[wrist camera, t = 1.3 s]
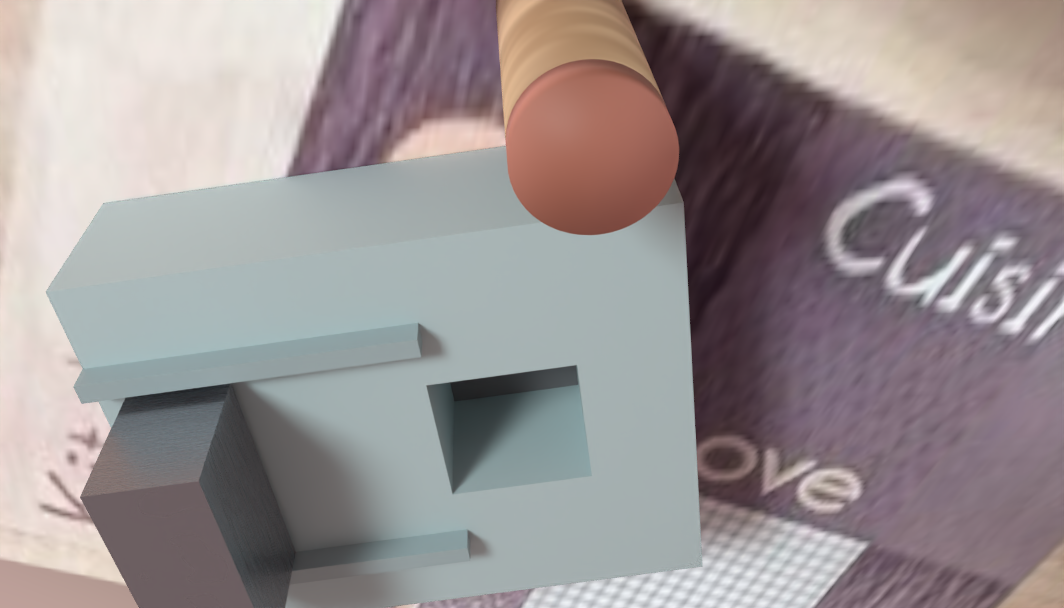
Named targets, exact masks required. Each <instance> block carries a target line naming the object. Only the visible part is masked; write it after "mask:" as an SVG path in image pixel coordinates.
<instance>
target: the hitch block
mask: <svg viewBox="0 0 1064 608" xmlns="http://www.w3.org/2000/svg"><path fill="white" fill-rule="evenodd" d="M46 294H47V296H48V298H49V300H50V302H51V304H52V306H53V308H54V310H55V312H56V314H57V316H58V318H59V321H60V323H61V325H62V327H63V329H64V331H65V333H66V335H67V337H68V339H69V341H70V343H71V345H72V348H73V350H74V352H75V354H76V356H77V358H78V360H79V362H80V364H81V366H82V368H83V370H82V372H81V373H80V375H79V377H78V379H77V381H76V383H75V385H74V389H75V391H76V393H77V395H78V397H79V399H80V401H81V403H82V404H83V403H90V402H98V401H99V404H100V406H101V408H102V410H103V412H104V414H105V416H106V418H107V420H108V422H109V424H110V426H111V428H112V426H113V424H114V422H115V419H116V417H117V415H118V413H119V411H120V408H121V406H122V404H123V402H124V400H125V398H127V397H134V396H142V395H149V394H156V393H163V392H171V391H178V390H185V389H193V388H200V387H207V386H215V385H222V384H229V383H232V386H233V389H234V391H235V394H236V397H237V399H238V402H239V404H240V407H241V410H242V412H243V415H244V418H245V420H246V423H247V425H248V428H249V431H250V433H251V436H252V439H253V441H254V444H255V446H256V449H257V452H258V454H259V457H260V460H261V462H262V465H263V467H264V470H265V473H266V475H267V478H268V481H269V483H270V486H271V488H272V491H273V494H274V496H275V499H276V502H277V504H278V507H279V509H280V512H281V515H282V517H283V520H284V523H285V525H286V528H287V530H288V533H289V536H290V538H291V541H292V544H293V546H294V549H295V551H296V553H295V559H294V564H293V569H292V574H291V580H290V585H289V590H288V595H287V601H286V606H285V608H386V607H394V606H401V605H409V604H417V603H424V602H432V601H440V600H448V599H455V598H463V597H471V596H478V595H486V594H494V593H502V592H509V591H517V590H525V589H532V588H540V587H548V586H556V585H563V584H571V583H579V582H586V581H594V580H602V579H609V578H617V577H625V576H633V575H640V574H648V573H656V572H663V571H671V570H679V569H687V568H694V567H702V549H701V530H700V510H699V491H698V471H697V452H696V433H695V413H694V394H693V374H692V355H691V335H690V316H689V296H688V277H687V258H686V238H685V219H684V202H683V199H682V197H681V194H680V192H679V189H678V186H677V184H676V181H675V178H674V180H673V182H672V184H671V187H670V189H669V190H668V192H667V193H666V195H665V197H664V198H663V199H662V200H661V202H660V203H659V204H658V205H657V206H656V207H655V208H654V209H653V210H652V211H651V212H650V213H649V214H647V215H646V216H645V217H643V218H642V219H641V220H639V221H637V222H636V223H634V224H632V225H630V226H628V227H626V228H623V229H621V230H617V231H614V232H611V233H606V234H600V235H577V234H570V233H566V232H563V231H559V230H557V229H554V228H552V227H549V226H548V225H546V224H544V223H542V222H540V221H539V220H538V219H536V218H535V217H534V216H533V215H531V214H530V213H529V212H528V211H527V210H526V209H525V207H524V206H523V205H522V204H521V202H520V201H519V199H518V198H517V196H516V194H515V192H514V190H513V188H512V185H511V183H510V179H509V174H508V166H507V153H506V146H503V147H496V148H489V149H482V150H475V151H468V152H461V153H454V154H447V155H440V156H433V157H426V158H419V159H411V160H404V161H397V162H390V163H383V164H376V165H369V166H362V167H355V168H348V169H341V170H334V171H327V172H320V173H313V174H306V175H299V176H292V177H285V178H278V179H271V180H264V181H257V182H250V183H243V184H236V185H229V186H222V187H215V188H208V189H201V190H194V191H187V192H180V193H173V194H166V195H159V196H152V197H145V198H138V199H131V200H124V201H117V202H110V203H103V205H102V206H101V208H100V209H99V211H98V212H97V214H96V215H95V217H94V218H93V220H92V222H91V223H90V225H89V226H88V228H87V229H86V231H85V232H84V234H83V235H82V237H81V238H80V240H79V241H78V243H77V245H76V246H75V248H74V249H73V251H72V252H71V254H70V255H69V257H68V258H67V260H66V261H65V263H64V265H63V266H62V268H61V269H60V271H59V272H58V274H57V275H56V277H55V278H54V280H53V281H52V283H51V285H50V286H49V288H48V289H47V291H46Z"/></svg>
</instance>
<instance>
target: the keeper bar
mask: <svg viewBox="0 0 1064 608" xmlns="http://www.w3.org/2000/svg"><path fill="white" fill-rule="evenodd" d="M80 498H81V500H82V502H83V503H84V505H85V507H86V509H87V511H88V513H89V515H90V517H91V518H92V520H93V522H94V524H95V526H96V528H97V530H98V532H99V534H100V535H101V537H102V539H103V541H104V543H105V545H106V547H107V549H108V550H109V552H110V554H111V556H112V558H113V560H114V562H115V564H116V565H117V567H118V569H119V571H120V573H121V575H122V577H123V579H124V580H125V582H126V584H127V586H128V588H129V590H130V592H131V594H132V596H133V597H134V599H135V601H136V603H137V605H138V607H139V608H285V606H286V601H287V595H288V590H289V585H290V580H291V574H292V569H293V564H294V559H295V553H296V551H295V549H294V546H293V544H292V541H291V538H290V536H289V533H288V530H287V528H286V525H285V523H284V520H283V517H282V515H281V512H280V509H279V507H278V504H277V502H276V499H275V496H274V494H273V491H272V488H271V486H270V483H269V481H268V478H267V475H266V473H265V470H264V467H263V465H262V462H261V460H260V457H259V454H258V452H257V449H256V446H255V444H254V441H253V439H252V436H251V433H250V431H249V428H248V425H247V423H246V420H245V418H244V415H243V412H242V410H241V407H240V404H239V402H238V399H237V397H236V394H235V391H234V389H233V386H232V383H229V384H222V385H215V386H207V387H200V388H193V389H185V390H178V391H171V392H163V393H156V394H149V395H142V396H134V397H127V398H125V400H124V402H123V404H122V406H121V408H120V411H119V413H118V415H117V417H116V419H115V422H114V424H113V426H112V428H111V430H110V433H109V435H108V437H107V439H106V441H105V444H104V446H103V448H102V450H101V452H100V455H99V457H98V459H97V461H96V463H95V466H94V468H93V470H92V472H91V474H90V477H89V479H88V481H87V483H86V485H85V488H84V490H83V492H82V494H81V496H80Z"/></svg>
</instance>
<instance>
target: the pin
mask: <svg viewBox="0 0 1064 608" xmlns="http://www.w3.org/2000/svg"><path fill="white" fill-rule="evenodd" d="M496 14H497V28H498V42H499V56H500V70H501V83H502V97H503V111H504V125H505V139H506V153H507V166H508V174H509V179H510V183H511V185H512V188H513V190H514V192H515V194H516V196H517V198H518V199H519V201H520V202H521V204H522V205H523V206H524V207H525V209H526V210H527V211H528V212H529V213H530V214H531V215H533V216H534V217H535V218H536V219H538V220H539V221H540V222H542V223H544V224H546V225H548V226H549V227H552V228H554V229H557V230H559V231H563V232H566V233H570V234H577V235H600V234H606V233H611V232H614V231H617V230H621V229H623V228H626V227H628V226H630V225H632V224H634V223H636V222H637V221H639V220H641V219H642V218H643V217H645V216H646V215H647V214H649V213H650V212H651V211H652V210H653V209H654V208H655V207H656V206H657V205H658V204H659V203H660V202H661V200H662V199H663V198H664V197H665V195H666V193H667V192H668V190H669V189H670V187H671V184H672V182H673V180H674V178H675V174H676V171H677V167H678V161H679V143H678V137H677V133H676V129H675V126H674V124H673V122H672V119H671V117H670V115H669V112H668V110H667V108H666V105H665V103H664V100H663V98H662V96H661V93H660V91H659V89H658V86H657V84H656V81H655V79H654V77H653V74H652V72H651V70H650V67H649V65H648V62H647V60H646V58H645V55H644V53H643V51H642V48H641V46H640V43H639V41H638V39H637V36H636V34H635V32H634V29H633V27H632V24H631V22H630V20H629V17H628V15H627V13H626V10H625V8H624V6H623V3H622V1H621V0H496Z"/></svg>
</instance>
